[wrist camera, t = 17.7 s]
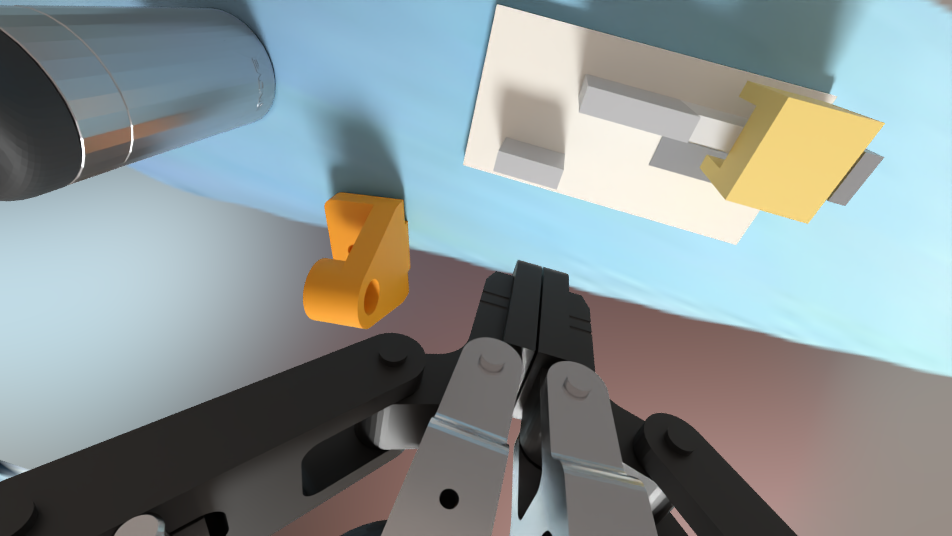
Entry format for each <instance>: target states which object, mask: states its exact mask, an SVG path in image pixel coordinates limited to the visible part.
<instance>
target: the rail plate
mask: <svg viewBox="0 0 952 536" xmlns="http://www.w3.org/2000/svg"><path fill="white" fill-rule="evenodd" d="M747 81H751V82H754V83H758V84H762V85H765V86H769V87H773V88H776V89H780V90H784V91H787V92H791V93H795V94H799V95H802V96H806V97H810V98H813V99H817V100H821V101H824V102H827V103H830V104H833V102H834V101H835V99H836V98H837V96H834V95H831V94H828V93H824V92H820V91H817V90H813V89H809V88H806V87H802V86H798V85H795V84H791V83H787V82H784V81H780V80H776V79H772V78H769V77H765V76H761V75H758V74H754V73H750V72H747V71H743V70H739V69H736V68H732V67H728V66H725V65H721V64H717V63H713V62H710V61H706V60H702V59H699V58H695V57H691V56H688V55H684V54H680V53H677V52H673V51H669V50H665V49H662V48H658V47H654V46H651V45H647V44H643V43H640V42H636V41H632V40H629V39H625V38H621V37H618V36H614V35H610V34H606V33H603V32H599V31H595V30H592V29H588V28H584V27H581V26H577V25H573V24H570V23H566V22H562V21H558V20H555V19H551V18H547V17H544V16H540V15H536V14H533V13H529V12H525V11H522V10H518V9H514V8H511V7H507V6H503V5H499V4H497V6H496V11H495V16H494V20H493V25H492V30H491V35H490V39H489V44H488V49H487V54H486V58H485V63H484V68H483V72H482V77H481V82H480V87H479V91H478V96H477V101H476V106H475V110H474V115H473V120H472V125H471V129H470V134H469V139H468V144H467V148H466V153H465V158H464V163H463V165H465V166H469V167H472V168H475V169H479V170H482V171H486V172H489V173H492V174H496V175H499V176H503V177H506V178H510V179H513V180H516V181H520V182H523V183H527V184H530V185H533V186H537V187H540V188H544V189H547V190H551V191H554V192H557V193H561V194H564V195H568V196H571V197H574V198H578V199H581V200H585V201H588V202H591V203H595V204H598V205H602V206H605V207H609V208H612V209H615V210H619V211H622V212H626V213H629V214H632V215H636V216H639V217H643V218H646V219H650V220H653V221H656V222H660V223H663V224H667V225H670V226H673V227H677V228H680V229H684V230H687V231H690V232H694V233H697V234H701V235H704V236H708V237H711V238H714V239H718V240H721V241H725V242H728V243H731V244H735V245H737V243H738V242H739V240H740V239H741V237H742V236H743V234H744V233H745V231H746V230H747V229H748V227H749V226H750V224H751V223H752V221H753V220H754V218H755V217H756V215H757V214H758V212H759V211H760V210H758V209H755V208H751V207H748V206H744V205H741V204H737V203H734V202H730V201H727V200H725V199H724V198H723V197H722V195H721V194H720V193H719V192H718V190H717V189H716V188H715V187H714V185H713V184H712V183H711V181H710V180H709V179H708V178H707V176H706V175H705V174H704V173H703V171H702V170H701V169H700V166H701V164H702V162H703V160H704V159H705V157H706V155H710V156H714V157H717V158H721V159H724V160H725V159H726V157H727V155H728V154H729V152H730V150H731V149H732V147H733V145H734V143H735V142H736V140H737V138H738V137H739V135H740V133H741V131H742V130H743V128H744V126H745V124H746V123H747V121H748V119H749V118H750V116H751V114H752V112H753V111H754V109H755V107H756V105H754V104H752V103H750V102H748V101H746V100H744V99H742V98H740V97H739V95H740V93H741V91H742V90H743V88H744V86H745V84H746V82H747ZM883 158H884V157H882V156H880V155H878V154H876V153H874V152H872V151H869V150H867V149H865V150H864V151H863V153H862V154H861V155H860V157H859V158H858V159H857V160H856V162H855V163H854V164H853V166H852V167H851V168H850V170H849V171H848V172H847V173H846V175H845V176H844V177H843V179H842V180H841V181H840V183H839V184H838V185H837V186H836V188H835V189H834V190H833V192H832V193H831V194H830V196H829V197H828V198H827V199H826V200H827V201H830V202H833V203H837V204H840V205H844V206H845V205H846V204H847V203H848V202H849V200H850V199H851V198H852V197H853V195H854V194H855V193H856V192H857V191H858V189H859V188H860V187H861V186H862V184H863V183H864V182H865V181H866V179H867V178H868V177H869V176H870V174H871V173H872V172H873V171H874V169H875V168H876V167H877V166H878V164H879V163H880V162H881V161H882V160H883Z"/></svg>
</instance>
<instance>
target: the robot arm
mask: <svg viewBox="0 0 952 536" xmlns="http://www.w3.org/2000/svg"><path fill="white" fill-rule="evenodd" d="M274 96H275V79H274V72H273V68H272V65H271V62H270V59H269V57H268V55H267V53H266V51H265V49H264V47H263V45H262V44H261V42H260V41H259V39H258V38H257V36H256V35H255V34H254V33H253V32H252V31H251V30H250V28H249V27H248V26H247V25H246V24H244V23H243V22H242V21H240V20H239V19H238V18H237V17H235V16H233V15H231V14H229V13H227V12H225V11H222V10H219V9H215V8H174V7H112V6H32V5H15V6H4V5H0V201H15V200H24V199H28V198H32V197H36V196H39V195H42V194H45V193H48V192H51V191H53V190H57V189H59V188H62V187H65V186H67V185H70V184H73V183H76V182H79V181H82V180H85V179H87V178H90V177H93V176H96V175H99V174H102V173H105V172H108V171H111V170H114V169H117V168H119V167H122V166H125V165H128V164H131V163H134V162H137V161H140V160H143V159H146V158H149V157H152V156H155V155H158V154H161V153H164V152H167V151H170V150H173V149H176V148H179V147H182V146H184V145H187V144H190V143H193V142H196V141H199V140H202V139H205V138H208V137H211V136H214V135H217V134H220V133H223V132H226V131H229V130H232V129H235V128H238V127H241V126H244V125H247V124H250V123H253V122H255V121H257V120H259V119H261V118H262V117H263V116H264V115H266V114H267V113H268V111H269V109H270V107H271V106H272V103H273V99H274ZM590 322H591V320H590V309H589V307H588V306H587V304H586V303H585V300H584V299H583V297H582V296H581V295H577V294H574V293H571V292H569V275H568V274H566V273H563V272H559V271H556V270H552V269H549V268H545V267H543V269H542V267H541V266H538V265H534V264H531V263H527V262H524V261H520V260H518V261H517V263H516V266H515V269H514V272H513V275H512V276H511V275H508V274H504V273H501V272H497V271H496V272H495V273H493V274H492V275H491V276H490V277H489V278H487V279H486V283H485V286H484V289H483V292H482V296H481V300H480V303H479V306H478V310H477V313H476V317H475V320H474V324H473V327H472V330H471V334H470V337H469V340H468V341H467V343H466V344H465V345H464V346H463V347H462V348H460V349H459V350H457V351H454V352H451V353H447V354H425V352H424V350H423V348H422V347H421V345H420V344H419V343H418V342H417V341H415V340H414V339H412V338H410V337H408V336H405V335H402V334H397V333H384V334H380V335H376V336H374V337H371V338H368V339H366V340H363V341H361V342H358V343H356V344H353V345H350V346H348V347H345V348H343V349H340V350H338V351H335V352H332V353H330V354H327V355H325V356H322V357H320V358H317V359H315V360H312V361H309V362H307V363H304V364H302V365H299V366H296V367H294V368H291V369H289V370H286V371H284V372H281V373H278V374H276V375H273V376H271V377H268V378H266V379H263V380H260V381H258V382H255V383H253V384H250V385H248V386H245V387H242V388H240V389H237V390H235V391H232V392H230V393H227V394H225V395H222V396H219V397H217V398H214V399H212V400H209V401H206V402H204V403H201V404H199V405H196V406H194V407H191V408H189V409H186V410H184V411H181V412H178V413H176V414H174V415H170V416H168V417H165V418H163V419H160V420H158V421H155V422H152V423H150V424H148V425H145V426H142V427H140V428H137V429H135V430H132V431H130V432H127V433H124V434H122V435H119V436H117V437H114V438H111V439H109V440H106V441H104V442H101V443H99V444H96V445H93V446H91V447H88V448H86V449H83V450H81V451H78V452H75V453H73V454H70V455H68V456H65V457H63V458H60V459H57V460H55V461H52V462H50V463H47V464H44V465H42V466H39V467H37V468H35V469H32V470H29V471H26V472H24V473H21V474H19V475H16V476H14V477H11V478H8V479H6V480H3V481H1V482H0V536H270V535H272V534H274V533H275V532H277V531H279V530H280V529H282V528H283V527H285V526H286V525H288V524H290V523H291V522H293V521H295V520H296V519H298V518H299V517H301V516H303V515H304V514H305V513H307V512H309V511H311V510H312V509H314V508H315V507H317V506H318V505H320V504H322V503H323V502H325V501H327V500H328V499H330V498H331V497H333V496H335V495H336V494H338V493H339V492H341V491H343V490H344V489H346V488H347V487H349V486H350V485H352V484H354V483H355V482H357V481H359V480H360V479H362V478H363V477H365V476H366V475H368V474H370V473H371V472H373V471H375V470H376V469H378V468H379V467H381V466H383V465H384V464H386V463H388V462H389V461H391V460H392V459H394V458H396V457H397V456H398V455H399V454H401V453H402V452H403V451H404V449H418V450H417V452H416V454H415V457H414V459H413V461H412V464H411V466H410V469H409V471H408V473H407V476H406V478H405V480H404V483H403V485H402V487H401V490H400V492H399V495H398V497H397V499H396V501H395V504H394V506H393V509H392V511H391V513H390V516H389V518H388V520H382V521H376V522H372V523H369V524H366V525H362V526H360V527H357V528H355V529H353V530H350V531H348V532H346V533H345V534H343V535H341V536H491V534H492V529H493V525H494V520H495V516H496V511H497V506H498V501H499V497H500V492H501V487H502V482H503V478H504V472H505V468H506V463H507V458H508V453H509V445H508V444H507V438H508V433H509V429H510V424H511V420H512V417H514V418H517V419H521V429H520V433H519V435H518V437H517V439H516V442H515V445H514V454H513V485H512V487H513V488H512V516H511V530H510V536H688V535H687V533H686V532H685V531H684V530H683V528H682V527H681V526H680V524H679V523H678V522H677V521H676V519H675V518H674V517H673V515H672V514H671V513H670V511H671V510H672V509H673V508H674V507H675V508H676V509H677V511H678V512H679V513H680V514H681V516H682V517H683V518H684V519H685V521H686V522H687V523H688V524H689V526H690V527H691V528H692V529H693V531H694V532H695V533H696V534H697V536H797V535H796V534H795V532H794V531H793V530H791V528H790V527H789V526H788V525H787V524H786V523H785V522H784V521H783V520H782V519H781V518H780V517H779V516H778V515H777V514H776V513H775V512H774V511H773V510H772V509H771V507H770V506H769V505H768V504H767V503H766V502H765V501H764V500H763V499H762V498H761V497H760V496H759V495H758V494H757V493H756V492H755V491H754V490H753V489H752V488H751V487H750V486H749V485H748V484H747V483H746V481H744V479H743V478H742V477H741V476H740V475H739V474H738V473H737V472H736V471H735V470H734V469H733V468H732V467H731V466H730V465H729V464H728V463H727V462H726V461H725V460H724V459H723V458H722V456H721V455H720V454H719V453H717V451H716V450H715V449H714V448H713V447H712V446H711V445H710V444H709V443H708V442H707V441H706V440H705V439H704V438H703V437H702V436H701V435H700V434H699V432H697V431H696V430H695V429H694V428H693V427H692V426H691V425H689V424H688V423H686V422H685V421H683V420H682V419H680V418H678V417H676V416H673V415H670V414H665V413H656V414H652V415H651V416H649V417H648V418H647V419H646V421H644V420H642V419H640V418H638V417H637V416H635V415H633V414H631V413H630V412H628V411H626V410H624V409H623V408H621V407H619V406H618V405H617V404H615V403H614V402H613V401H611V400H610V399H609V394H608V390H607V387H606V386H605V383H604V382H603V381H602V379H601V378H600V377H599V376H598V375H597V374H596V373H595V366H594V355H593V342H592V335H591V332H592V331H591V324H590Z"/></svg>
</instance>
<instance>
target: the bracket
mask: <svg viewBox="0 0 952 536" xmlns="http://www.w3.org/2000/svg"><path fill="white" fill-rule="evenodd" d="M324 207H325V214H326V219H327V225H328V231H329V237H330V243H331V248H332V254H333V259H328V258H323V259H320V260H318V261H317V262H316V263H315V264H314V265H313V267H312V268H311V270H310V272H309V274H308V276H307V279H306V282H305V286H304V291H303V304H304V309H305V312H306V314H307V316H308V317H309V318H310V319H312V320H317V321H323V322H329V323H334V324H340V325H346V326H352V327H357V328H363V329H368V328H370V327H371V326H373V325H374V324H375V323H376V322H378V321H379V320H380V319H382V318H383V317H384V316H385V315H387V314H388V313H389V312H391V311H392V310H393V309H395V308H396V307H397V306H399V305H400V304H401V303H402V302H403V301H404V300H405V298H406V296H407V295H408V293H409V283H408V271H409V269H410V251H409V236H408V221H405V216H404V200H402V199H393V198H385V197H377V196H369V195H360V194H352V193H344V192H339V193H337V194H336V195H334V196H333V197H332V198H331V199H329V200H328V201H327V202H326V203H325V206H324Z"/></svg>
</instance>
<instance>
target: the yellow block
mask: <svg viewBox="0 0 952 536" xmlns="http://www.w3.org/2000/svg"><path fill="white" fill-rule="evenodd" d="M739 97H740V98H742V99H744V100H746V101H748V102H750V103H752V104H754V105H756V107H755V109H754V111H753V112H752V114H751V116H750V118H749V119H748V121H747V123H746V124H745V126H744V128H743V130H742V131H741V133H740V135H739V137H738V138H737V140H736V142H735V143H734V145H733V147H732V149H731V150H730V152H729V154H728V155H727V157H726V159H725V160H724V159H721V158H717V157H714V156H710V155H706V157H705V159H704V160H703V162H702V164H701V166H700V169H701V170H702V171H703V173H704V174H705V175H706V176H707V178H708V179H709V180H710V181H711V183H712V184H713V185H714V187H715V188H716V189H717V190H718V192H719V193H720V194H721V195H722V197H723V198H724V199H725V200H727V201H730V202H734V203H737V204H741V205H744V206H748V207H751V208H755V209H758V210H762V211H765V212H769V213H772V214H776V215H779V216H783V217H786V218H790V219H793V220H797V221H800V222H804V223H807V224H808V223H809V221H810V220H811V219H812V218H813V216H814V215H815V214H816V212H817V211H818V210H819V208H820V207H821V206H822V205H823V203H824V202H825V201H826V199H827V198H828V197H829V196H830V194H831V193H832V192H833V190H834V189H835V188H836V186H837V185H838V184H839V183H840V181H841V180H842V179H843V177H844V176H845V175H846V173H847V172H848V171H849V170H850V168H851V167H852V166H853V164H854V163H855V162H856V160H857V159H858V158H859V157H860V155H861V154H862V153H863V151H864V150H865V149H866V147H867V146H868V145H869V144H870V142H871V141H872V140H873V138H874V137H875V136H876V134H877V133H878V132H879V131H880V129H881V128H882V127H883V125H884V124H885V123H883V122H880V121H877V120H874V119H872V118H869V117H866V116H863V115H861V114H858V113H855V112H852V111H849V110H847V109H844V108H841V107H838V106H835V105H833V104H830V103H827V102H824V101H821V100H817V99H813V98H810V97H806V96H802V95H799V94H795V93H791V92H787V91H784V90H780V89H776V88H773V87H769V86H765V85H762V84H758V83H754V82H751V81H747V82H746V84H745V86H744V88H743V90H742V91H741V93H740V95H739Z"/></svg>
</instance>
